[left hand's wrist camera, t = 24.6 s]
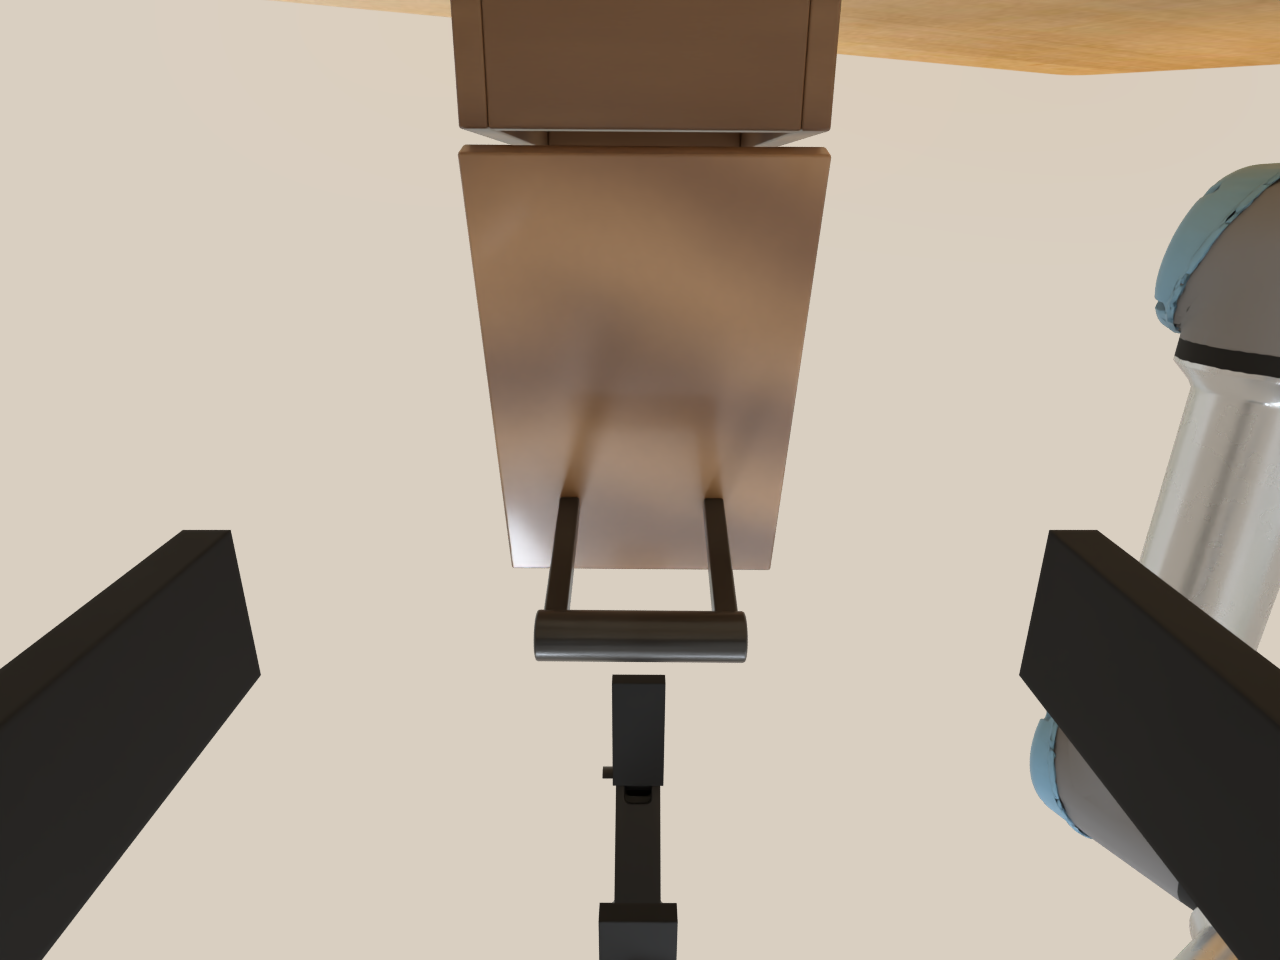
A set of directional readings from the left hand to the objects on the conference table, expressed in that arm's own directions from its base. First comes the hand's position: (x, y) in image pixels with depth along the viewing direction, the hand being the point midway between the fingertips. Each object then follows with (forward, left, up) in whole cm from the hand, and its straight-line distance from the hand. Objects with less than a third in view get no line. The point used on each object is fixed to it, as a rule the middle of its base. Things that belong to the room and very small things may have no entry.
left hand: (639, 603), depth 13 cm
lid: (+12, -7, 0) cm, 14 cm away
